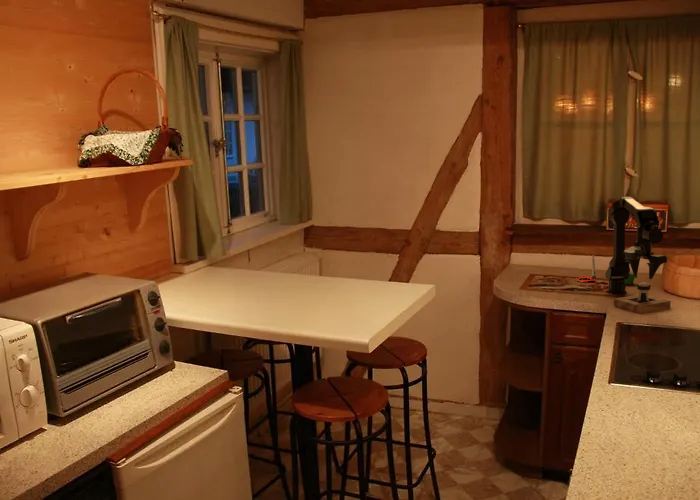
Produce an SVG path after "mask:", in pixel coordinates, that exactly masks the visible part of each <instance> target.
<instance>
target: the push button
mask: <svg viewBox="0 0 700 500" xmlns="http://www.w3.org/2000/svg"><path fill="white" fill-rule="evenodd" d="M651 287H652V286H651V284H650V283H649V282H645V281H640V282H638V284H636V288H637V290H638V295H639V298H638V300H637V302H638V303H644V302H650V301H649V299H648V295H649V291H650V290H651ZM640 296H641V297H640Z"/></svg>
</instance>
